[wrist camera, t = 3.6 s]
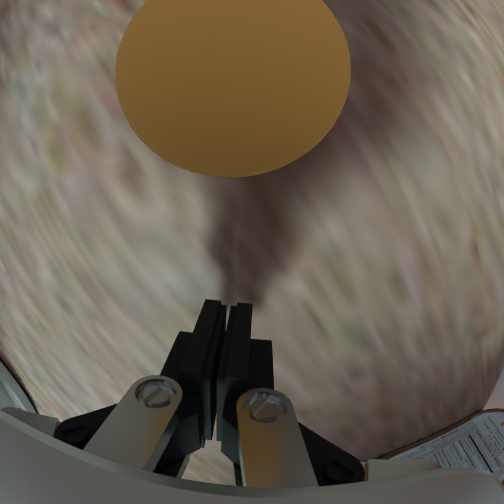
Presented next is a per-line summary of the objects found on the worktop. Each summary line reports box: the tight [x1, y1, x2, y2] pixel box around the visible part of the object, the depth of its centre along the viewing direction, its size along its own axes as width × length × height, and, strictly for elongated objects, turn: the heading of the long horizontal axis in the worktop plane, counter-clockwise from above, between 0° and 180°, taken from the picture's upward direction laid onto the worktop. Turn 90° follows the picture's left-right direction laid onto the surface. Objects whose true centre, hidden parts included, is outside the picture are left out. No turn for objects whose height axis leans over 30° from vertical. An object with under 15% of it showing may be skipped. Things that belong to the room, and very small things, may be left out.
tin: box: [380, 408, 504, 485], centre depth 11 cm, size 15×3×8 cm, turn 105°
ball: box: [115, 0, 351, 178], centre depth 6 cm, size 6×6×6 cm
